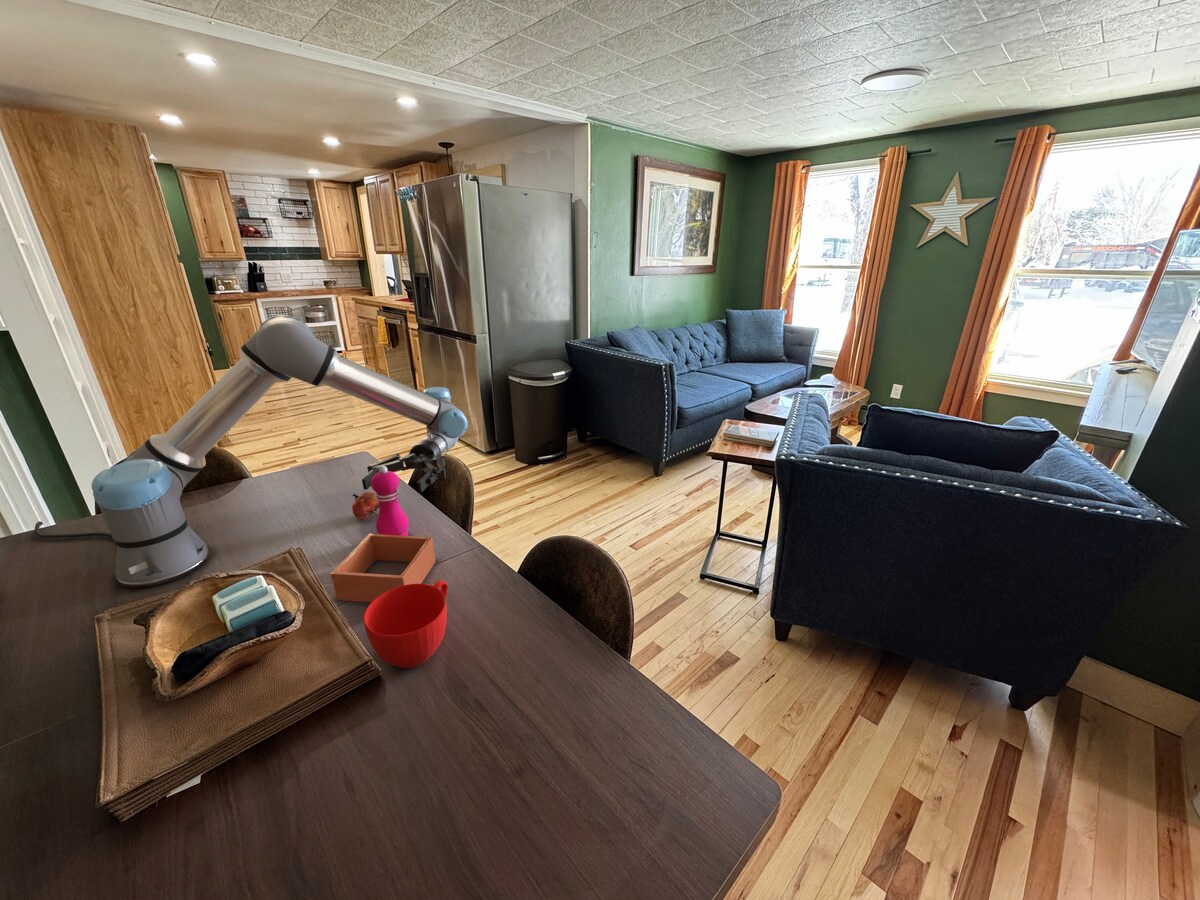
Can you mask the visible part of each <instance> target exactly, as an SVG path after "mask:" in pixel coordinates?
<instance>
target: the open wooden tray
mask: <svg viewBox="0 0 1200 900" xmlns="http://www.w3.org/2000/svg"><path fill="white" fill-rule="evenodd" d="M434 547H435V546H434V540H433V537H432V536H431V537H430V536H416V535H415V536H414V535H408V536H400V535H383V534H379V533H368V534H367V536H365V537H364V538H363V540H361V542H360V543H359V544H358V545H357V546H356V547H355V548H354V549H353V550H352V551H351V552H350V553H349V554H348V555H347V557H345V558H344V559H343V560H342V562H340V564H339V565H338V566H336V568H335V569H334V570H333V571H331V573H330V576H331V580H332V584H333V589H334V593H335V597H336V600H337V601H346V602H347V601H348V602H360V603H372V602H373V601H374V600H375V599H376V598H377V597H379V596H380V595H382V594H383V593H385V592H387V591H389V590H391V589H394V588H396V587H399V586H403V585H408V584H423V581H424V580H425V578H426V577H427V575H428V574H429V572H430V571H431V569H432V568H433V566H434V565H435V563H436V555H435V549H434ZM375 561H388V562H389V561H391V562H405V563H408V564H407V565H406V568H405V569H404V571H403V572H402V573H401V574H400V575H397V574H384V573H382V574H381V573H366V572H367V570H368V569H369V568H370V567H371V565H372V564H374V562H375Z"/></svg>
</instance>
